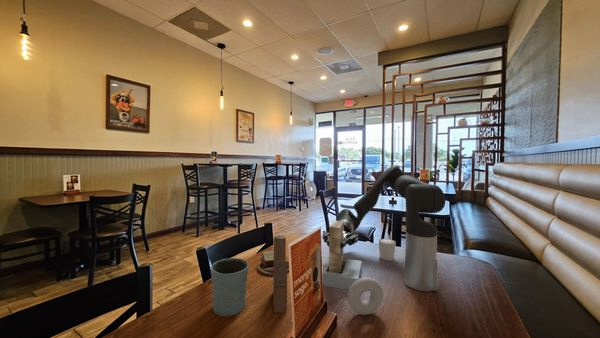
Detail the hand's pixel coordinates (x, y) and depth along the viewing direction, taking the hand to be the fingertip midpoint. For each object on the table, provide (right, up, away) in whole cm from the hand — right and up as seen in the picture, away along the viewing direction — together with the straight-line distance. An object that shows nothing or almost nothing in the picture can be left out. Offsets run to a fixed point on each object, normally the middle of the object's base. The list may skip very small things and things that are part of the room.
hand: (335, 244), depth 85 cm
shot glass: (+24, -12, +21) cm, 34 cm away
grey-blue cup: (-31, -13, -15) cm, 37 cm away
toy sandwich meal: (-22, -12, +10) cm, 27 cm away
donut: (+6, -14, -17) cm, 23 cm away
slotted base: (+1, -12, +3) cm, 13 cm away
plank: (+1, -9, +3) cm, 10 cm away
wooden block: (-18, -13, -12) cm, 25 cm away
